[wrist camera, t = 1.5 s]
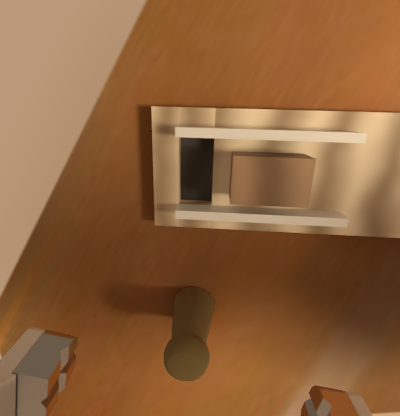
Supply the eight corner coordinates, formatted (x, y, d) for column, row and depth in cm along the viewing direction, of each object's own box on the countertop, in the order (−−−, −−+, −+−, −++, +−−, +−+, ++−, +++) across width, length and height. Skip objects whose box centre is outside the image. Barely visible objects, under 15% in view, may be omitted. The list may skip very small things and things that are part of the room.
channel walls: (355, 131, 29) (367, 133, 27) (337, 219, 32) (347, 227, 30) (178, 126, 30) (175, 127, 28) (178, 211, 33) (175, 218, 31)
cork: (175, 321, 41) (160, 390, 31) (171, 287, 39) (153, 348, 29) (215, 320, 40) (214, 390, 30) (213, 285, 39) (210, 348, 28)
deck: (464, 115, 30) (481, 114, 28) (426, 233, 34) (438, 240, 32) (155, 106, 31) (151, 106, 30) (158, 219, 36) (154, 225, 34)
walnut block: (304, 153, 30) (316, 158, 26) (297, 197, 32) (308, 207, 28) (231, 151, 30) (233, 155, 27) (228, 194, 32) (230, 204, 28)
